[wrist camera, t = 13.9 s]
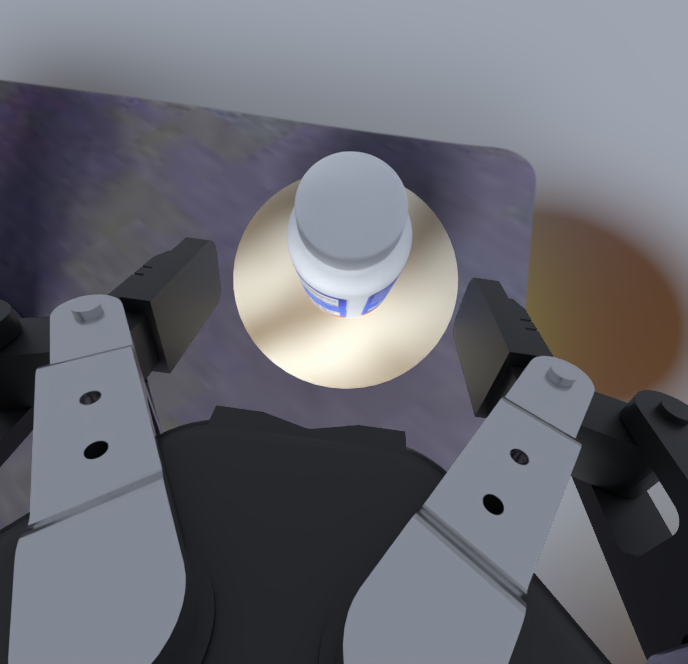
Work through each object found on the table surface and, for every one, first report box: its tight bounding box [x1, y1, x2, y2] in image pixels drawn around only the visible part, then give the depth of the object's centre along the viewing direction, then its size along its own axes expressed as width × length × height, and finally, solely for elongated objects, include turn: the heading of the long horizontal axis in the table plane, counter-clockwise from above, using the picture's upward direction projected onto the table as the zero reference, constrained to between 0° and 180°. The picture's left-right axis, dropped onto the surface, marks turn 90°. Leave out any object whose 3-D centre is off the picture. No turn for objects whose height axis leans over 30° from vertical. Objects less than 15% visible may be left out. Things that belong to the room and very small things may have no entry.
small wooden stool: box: [233, 179, 458, 389], centre depth 27 cm, size 14×14×10 cm
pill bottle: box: [287, 151, 412, 318], centre depth 17 cm, size 5×5×10 cm
